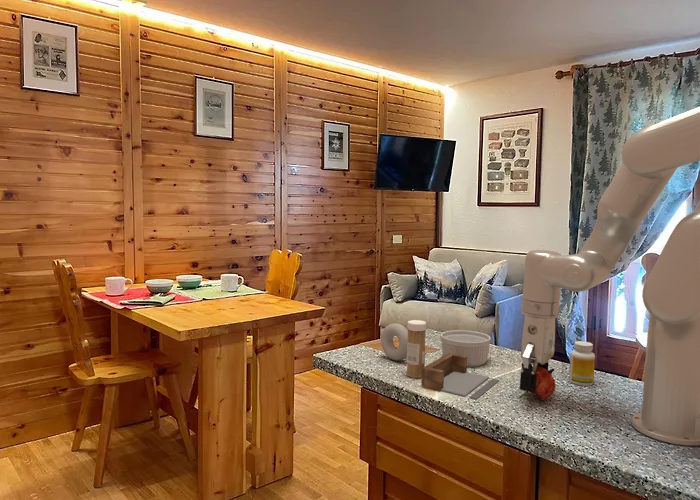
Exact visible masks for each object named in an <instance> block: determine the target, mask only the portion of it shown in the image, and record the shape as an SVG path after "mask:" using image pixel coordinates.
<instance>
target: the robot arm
mask: <svg viewBox="0 0 700 500" xmlns="http://www.w3.org/2000/svg"><path fill="white" fill-rule="evenodd" d="M621 159H622V164H621V166H620V167H619V169H618V170H617V172H616V174H615V175H614V176H613V178H612V180H611V181H610V183H609V185H608V186H607V188H606V189H605V191H604V193H603V194H602V196H601V197H600V198H599V201H598V204H597V210H596V211H597V213H596V214H597V216H596V217H597V218H596V221H595V225H594V227H593V229H592V231H591V233H590V235H589V237H588V238H587V240H586V241H585V243H584V245H583V246H582V248H581V250H580V251H579V252H578V253H574V254H561V253H559V252H558V251H554V250H545V249H535V250H534V249H533V250H529V251H528V252H526V255H525V260H524V261H525V262H524V272H523V273H524V274H523V285H522V286H523V287H522V288H523V289H522V298H521V299H522V301H521V312H520V313H521V315H523V316H524V321H523V328H522V338H521V348H520V359H521V360H522V363H521V364H520V365H521V367H520V378H519V389H520V390H521V391H525V392H526V391H528V393H530V392H532V393H534V392H535V391H536V381H537V374H535V373H536V369H537V367H542V368H545V369H546V370H549V363H550V362H549V361H550V360H551V359H552V358H553V357H554V354H555V344H556V343H555V341H556V319H557V318H559V309H560V302H561V301H560V300H561V289H563V290H565V291H571V292H576V293H577V292H578V293H581V292H585V291H588V290H591V289H592V288H593V287H596V286H598V285H601V284H602V283H603V282H604V281H605V280H606V279H607V277H608V276H609V275H610V274H611V272H612V271H613V270H614V268H615V266H616V265H617V263H618V262H619V260H620V259H621V257H622V256H623V254H624V253H625V251H626V250H627V248H628V246H629V244H630V242H631V240H632V239H633V238H634V236H635V235H636V233H637V231H638V230H639V227H640V225H641V224H642V222H643V220H644V219H645V217H646V216H647V214H648V213H649V211H650V210H651V208H652V206H653V205H654V204H655V202H656V200H657V199H658V197H659V196H660V195H661V193H662V192H663V190H664V188H665V187H666V186H667V185H668V183H669V181H670V180H671V178H672V177H673V176H674V174H675V173H676V171H677V170H678V168H680V167H683V166H686V165H689V164H693V163H695V162H698V161H700V105H699V106H698V107H695V108H692V109H690V110H686V111H685V112H683V113H680V114H677V115H675V116H672V117H670V118H667V119H664V120H661V121H659V122H655V123H654V124H651V125H649V126H646V127H644V128H641V129H639V130H637V131H636V132H634V133H633V134H631V135H630V136H629V137H628V138H627V140H626V141H625V143H624V144H623V147H622V150H621ZM641 293H642V295H641V296H642V301H643V306H644V307H645V310H646V311H647V312H648V313H649V317H648V318H649V319H648V324H647V325H648V327H647V328H648V329H647V334H646V335H647V337H646V347H645V348H646V350H645V351H646V352H645V361H644V362H645V363H644V364H645V365H644V373H643V374H644V376H643V389H642V390H643V392H642V400H641V401H642V405H641V412H637V413H634V415H632V418H631V425H632V427H633V428H634V429H635V430H636V431H638V432H639V433H641V434H643V435H645V436H647V437H649V438H652V439H655V440H657V441H661V442H665V443H667V444H673V445H678V446H679V445H680V446H689V447H690V446H691V447H692V446H694V447H695V446H697V447H698V446H700V199H699V201H698V202H697V204H696V205H695V208H694V209H693V211H692V212H691V213H688V214H687V215H685V216H684V217H683V218H681V220H680V221H679V222H678V223H677V224H676V225H675V226H674V228H673V230H672V232H671V233H670V235H669V237H668V239H667V241H666V243H665V245H664V247H663V248H662V251H660V254H659V256H658V258H657V260H656V262H655V263H654V265H653V267H652V269H651V270H650V272H649V275H648V277H647V279H646V281H645V283H644V285H643V289H642V292H641ZM532 367H533V368H532Z"/></svg>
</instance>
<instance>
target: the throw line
mask: <svg viewBox="0 0 700 500" xmlns="http://www.w3.org/2000/svg"><path fill="white" fill-rule="evenodd" d="M499 382H500V379H497V378H492V379H490V380H489V381H488V382H486V383H485V384H484V385H483V386H481V387H480V388H479V389H478V390H476V391H475V392H474V393H472V394H471V395H469V399H472V400H478V399H479V398H480V397H482V396H483V395H484V394H485V393H486V392H487V391H489V390H490V389H491V388H492V387H494V386H495V385H496V384H498V383H499Z"/></svg>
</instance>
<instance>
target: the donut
mask: <svg viewBox="0 0 700 500" xmlns="http://www.w3.org/2000/svg"><path fill="white" fill-rule="evenodd" d="M394 337H396V338H397V339H398V344H399V345H398V347H397V346H396V345H395V343H394V339H395V338H394ZM407 341H408V329H407V327H405V325H402V324H400V323H398V322H397V323H395V322H393V323H390V324H387V325H386V326H385V327H384V328H383V330H382V332H381V336H380V343H381V348H382V351H383V352H384V354H385V355H386V356H387V357H388V358H389V359H390V360H391V359H392V360H393V361H397V362H399V361H400V362H401V361H403V360H405V359H407Z"/></svg>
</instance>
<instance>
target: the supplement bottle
mask: <svg viewBox="0 0 700 500" xmlns="http://www.w3.org/2000/svg"><path fill="white" fill-rule="evenodd" d="M573 348H574V349H573V350H571V352H570V357H569V358H570V359H569V373H568V380H569V381H570V383H571V384H575V385H577V386H580V387H581V386H583V387H588V386H589V387H590V386H592V385H593V384H594V380H595V365H596V355H595V353H594V352H593V350H594V344H593V343H592V342H589V341H583V340H579V341H575V342H574V346H573Z"/></svg>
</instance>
